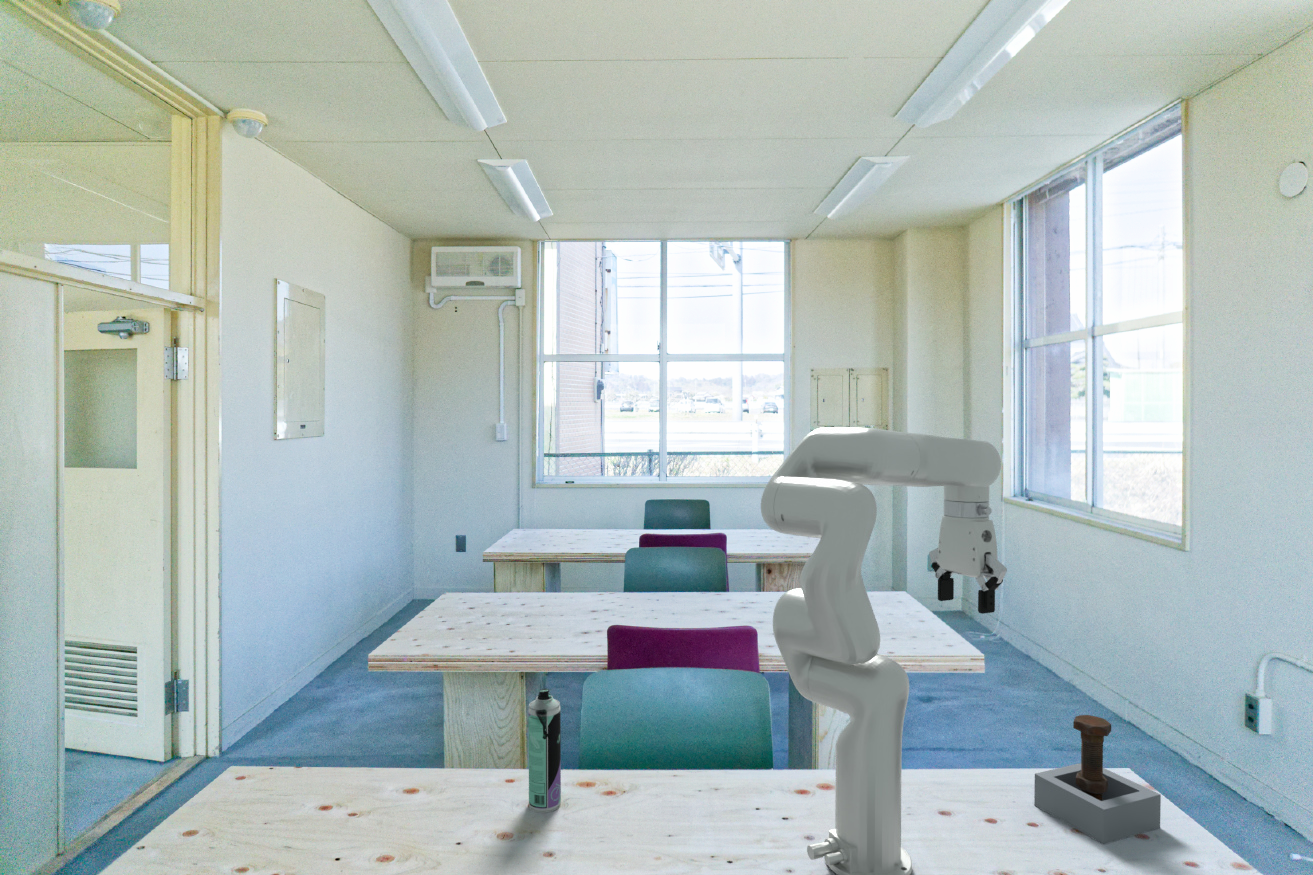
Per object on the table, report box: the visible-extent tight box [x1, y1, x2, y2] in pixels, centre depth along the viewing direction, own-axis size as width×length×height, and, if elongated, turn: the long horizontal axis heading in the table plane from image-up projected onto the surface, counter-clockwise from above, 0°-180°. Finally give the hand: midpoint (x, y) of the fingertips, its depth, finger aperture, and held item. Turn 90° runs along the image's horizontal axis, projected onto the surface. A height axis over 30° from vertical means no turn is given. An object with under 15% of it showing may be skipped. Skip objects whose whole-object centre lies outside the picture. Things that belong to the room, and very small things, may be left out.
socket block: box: [1033, 762, 1162, 845], centre depth 127 cm, size 13×13×6 cm
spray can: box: [528, 688, 562, 814], centre depth 131 cm, size 6×6×20 cm
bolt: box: [1072, 714, 1112, 801], centre depth 127 cm, size 6×5×15 cm
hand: (965, 606), depth 135 cm, fingers open, 9 cm apart
